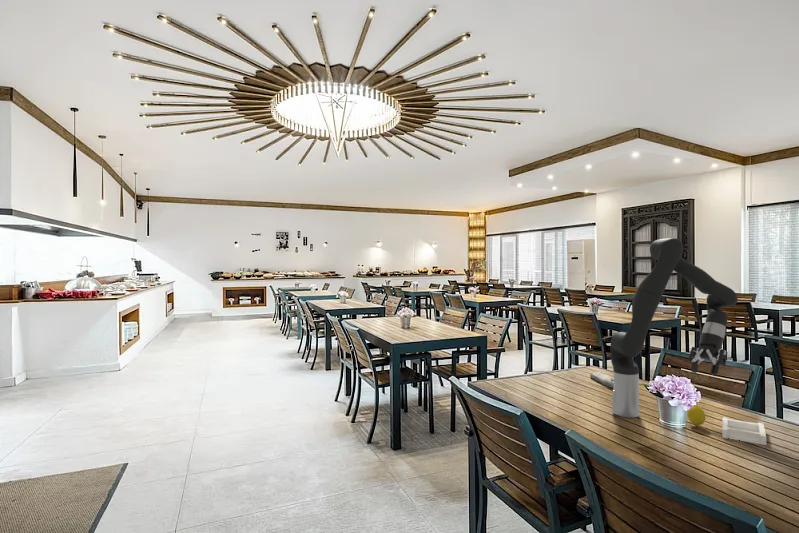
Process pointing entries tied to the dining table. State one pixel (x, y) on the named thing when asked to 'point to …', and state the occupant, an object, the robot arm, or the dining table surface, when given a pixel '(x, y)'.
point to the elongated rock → (603, 379)
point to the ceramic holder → (744, 431)
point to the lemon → (696, 415)
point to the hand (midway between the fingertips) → (703, 373)
